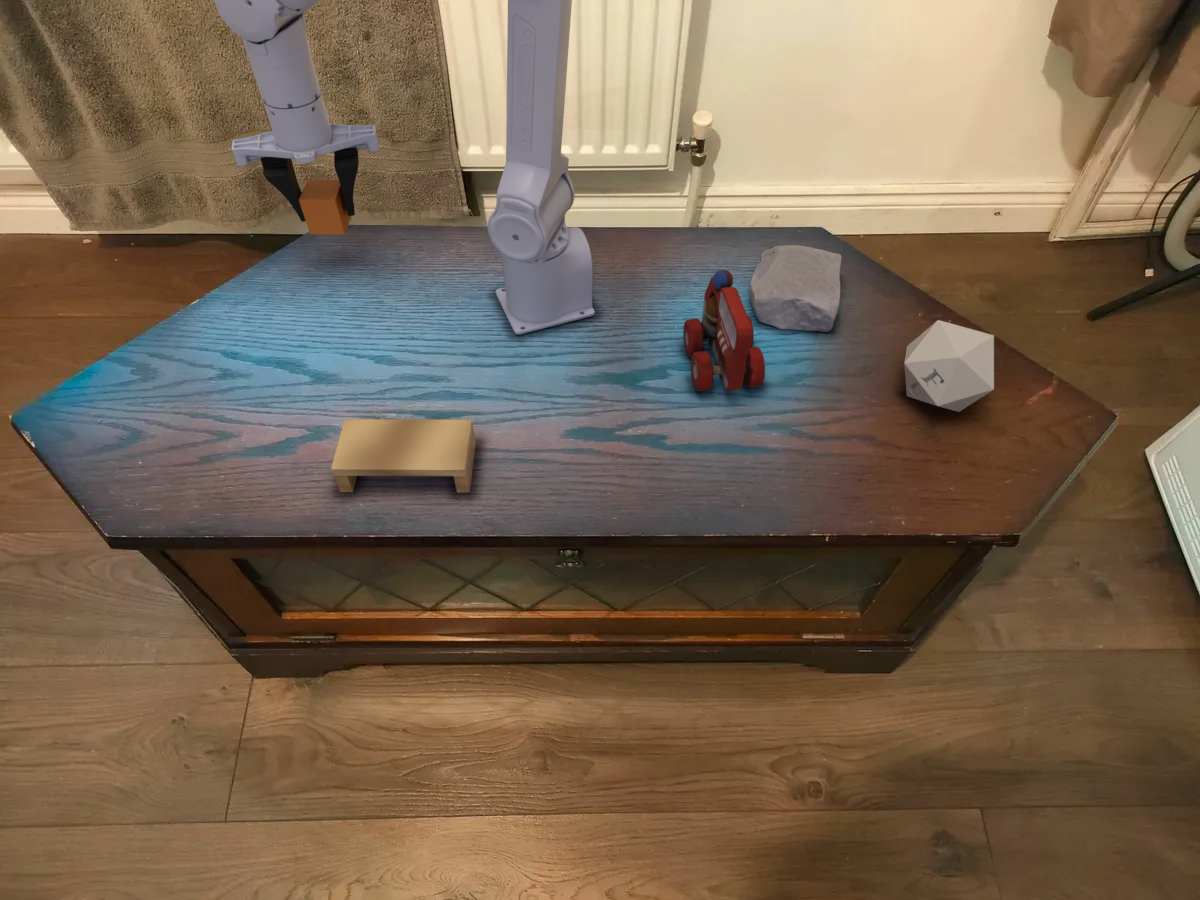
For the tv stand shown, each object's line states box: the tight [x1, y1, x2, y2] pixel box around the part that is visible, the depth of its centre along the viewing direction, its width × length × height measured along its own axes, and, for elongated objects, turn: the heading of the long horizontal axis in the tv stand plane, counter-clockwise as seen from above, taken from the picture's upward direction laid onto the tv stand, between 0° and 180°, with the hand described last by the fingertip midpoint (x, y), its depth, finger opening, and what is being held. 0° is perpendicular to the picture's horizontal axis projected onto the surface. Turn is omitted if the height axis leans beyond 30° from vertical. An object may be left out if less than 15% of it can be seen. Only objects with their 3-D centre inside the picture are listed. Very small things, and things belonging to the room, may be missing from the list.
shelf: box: [330, 418, 477, 493], centre depth 72 cm, size 12×6×4 cm, turn 90°
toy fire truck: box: [683, 269, 766, 392], centre depth 79 cm, size 7×12×10 cm, turn 6°
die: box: [903, 319, 995, 413], centre depth 78 cm, size 8×9×10 cm
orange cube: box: [299, 179, 352, 236], centre depth 87 cm, size 4×4×4 cm
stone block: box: [749, 244, 842, 333], centre depth 89 cm, size 12×5×10 cm
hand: (327, 213), depth 88 cm, fingers closed on orange cube, 4 cm apart
